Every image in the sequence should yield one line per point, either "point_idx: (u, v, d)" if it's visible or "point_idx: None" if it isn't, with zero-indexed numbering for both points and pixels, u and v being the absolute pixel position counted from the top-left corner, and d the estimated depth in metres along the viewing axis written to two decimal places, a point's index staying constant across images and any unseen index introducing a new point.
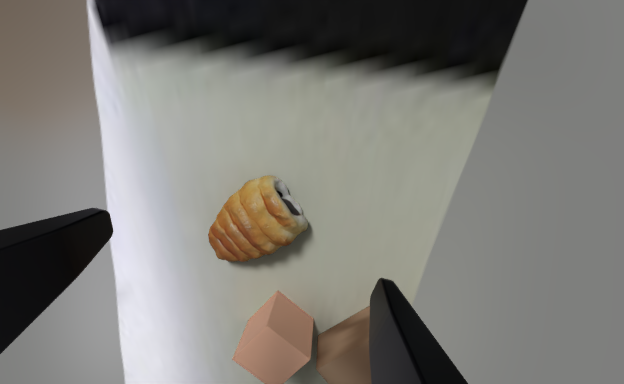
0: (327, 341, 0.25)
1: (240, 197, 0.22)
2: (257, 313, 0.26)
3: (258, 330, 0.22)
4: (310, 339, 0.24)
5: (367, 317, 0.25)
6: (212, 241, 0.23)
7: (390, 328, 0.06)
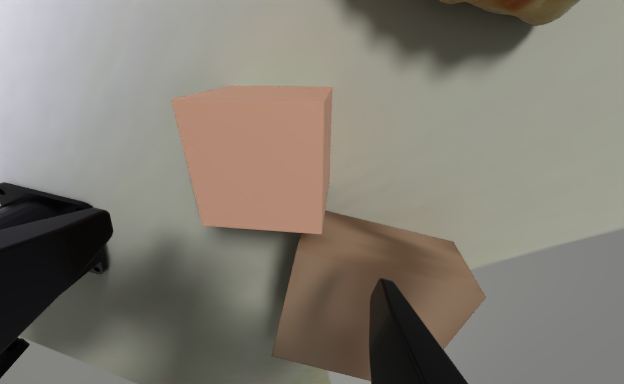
0: (326, 226, 0.14)
1: None
2: (263, 87, 0.12)
3: (286, 98, 0.08)
4: (325, 204, 0.12)
5: (412, 245, 0.14)
6: None
7: (390, 328, 0.06)
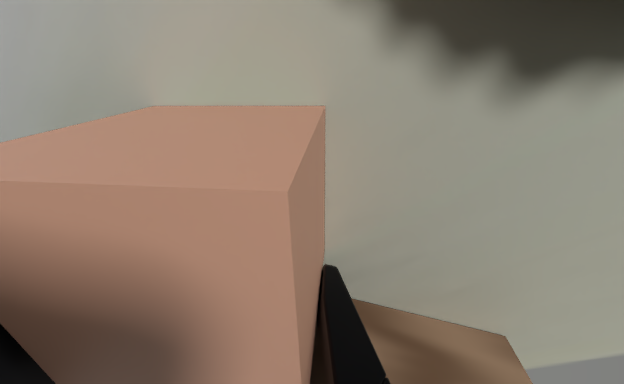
0: None
1: None
2: (199, 110, 0.06)
3: (186, 170, 0.03)
4: (315, 322, 0.06)
5: (446, 353, 0.09)
6: None
7: (321, 311, 0.06)
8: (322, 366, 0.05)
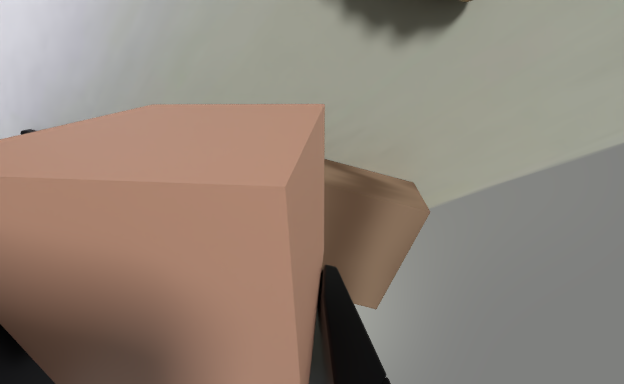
0: None
1: None
2: (198, 109, 0.06)
3: (182, 166, 0.03)
4: (314, 321, 0.06)
5: (377, 180, 0.17)
6: None
7: (321, 311, 0.06)
8: (322, 366, 0.05)
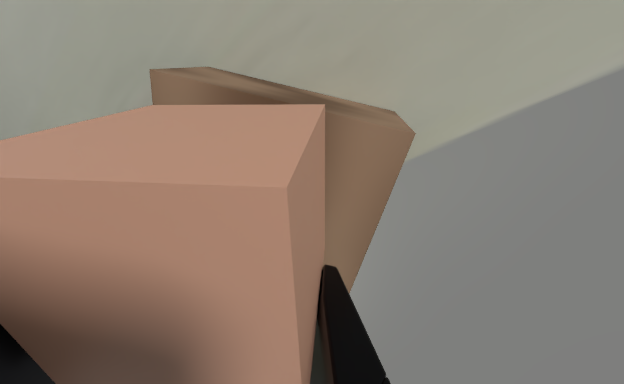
0: (220, 74, 0.10)
1: None
2: (199, 109, 0.06)
3: (184, 167, 0.03)
4: (315, 321, 0.06)
5: (334, 101, 0.11)
6: None
7: (321, 311, 0.06)
8: (322, 366, 0.05)
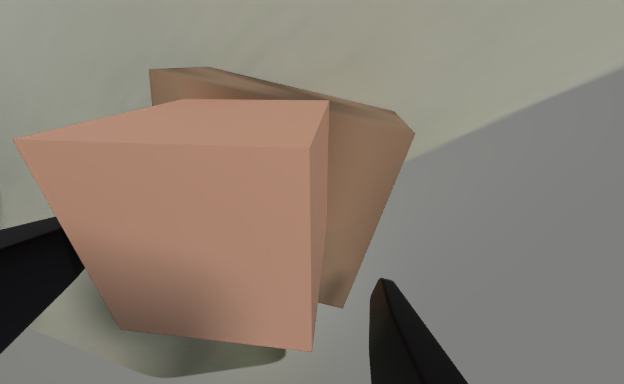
0: (219, 74, 0.10)
1: None
2: (224, 102, 0.08)
3: (236, 138, 0.04)
4: (319, 279, 0.08)
5: (333, 101, 0.11)
6: None
7: (390, 328, 0.06)
8: None
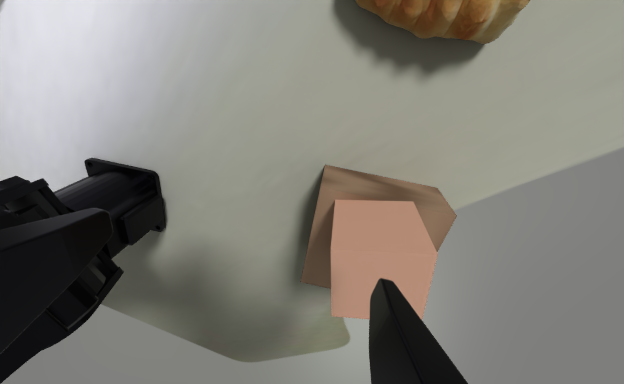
0: (340, 175, 0.19)
1: None
2: (363, 206, 0.16)
3: (407, 247, 0.12)
4: None
5: (404, 188, 0.19)
6: None
7: (390, 328, 0.06)
8: None
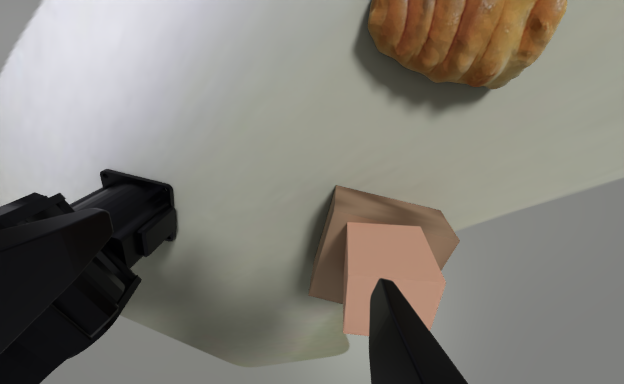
0: (351, 197, 0.20)
1: None
2: (374, 229, 0.17)
3: (418, 274, 0.13)
4: None
5: (411, 210, 0.20)
6: None
7: (390, 328, 0.06)
8: None
